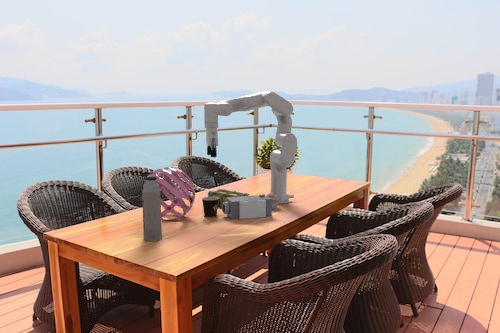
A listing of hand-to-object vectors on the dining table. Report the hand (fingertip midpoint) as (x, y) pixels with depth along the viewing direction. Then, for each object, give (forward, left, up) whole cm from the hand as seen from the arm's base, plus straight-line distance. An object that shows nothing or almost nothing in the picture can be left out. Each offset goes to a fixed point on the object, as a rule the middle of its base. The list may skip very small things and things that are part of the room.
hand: (211, 156), depth 261 cm
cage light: (-11, -5, -31) cm, 33 cm away
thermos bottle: (+39, +46, -30) cm, 68 cm away
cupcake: (-31, +11, -30) cm, 45 cm away
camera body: (-13, +24, -30) cm, 40 cm away
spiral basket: (+25, +12, -30) cm, 41 cm away
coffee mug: (+4, +17, -30) cm, 35 cm away
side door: (-14, +30, -29) cm, 44 cm away
